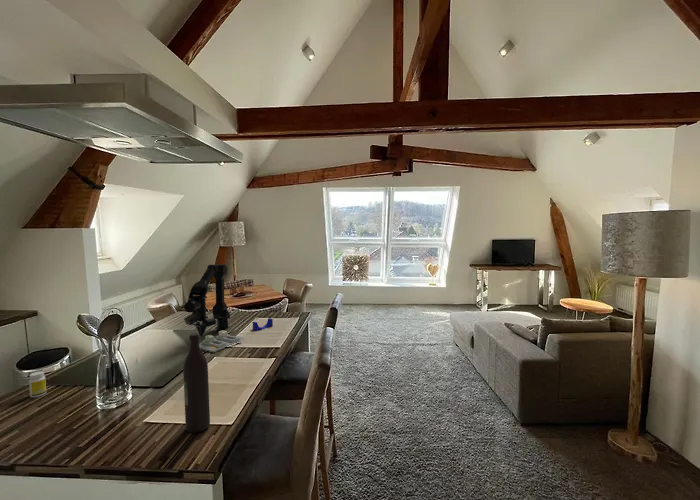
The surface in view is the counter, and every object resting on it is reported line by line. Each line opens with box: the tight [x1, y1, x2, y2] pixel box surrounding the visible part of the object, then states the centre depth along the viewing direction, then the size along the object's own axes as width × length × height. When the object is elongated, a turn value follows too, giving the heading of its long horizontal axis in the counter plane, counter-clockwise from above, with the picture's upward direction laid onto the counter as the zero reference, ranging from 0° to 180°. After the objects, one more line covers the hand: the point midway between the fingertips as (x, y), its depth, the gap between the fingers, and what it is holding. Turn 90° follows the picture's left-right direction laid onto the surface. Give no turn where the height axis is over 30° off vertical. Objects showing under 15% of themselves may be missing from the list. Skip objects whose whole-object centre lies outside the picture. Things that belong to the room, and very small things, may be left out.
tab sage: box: [204, 334, 215, 343], centre depth 182 cm, size 4×3×4 cm, turn 60°
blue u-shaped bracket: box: [252, 317, 274, 332], centre depth 209 cm, size 12×4×6 cm, turn 134°
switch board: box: [199, 333, 245, 353], centre depth 184 cm, size 16×22×3 cm
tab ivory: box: [218, 329, 228, 338], centre depth 190 cm, size 4×3×4 cm, turn 60°
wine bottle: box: [182, 332, 211, 434], centre depth 107 cm, size 7×7×30 cm
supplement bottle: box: [28, 370, 48, 398], centre depth 130 cm, size 5×5×8 cm
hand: (201, 336), depth 186 cm, fingers closed
